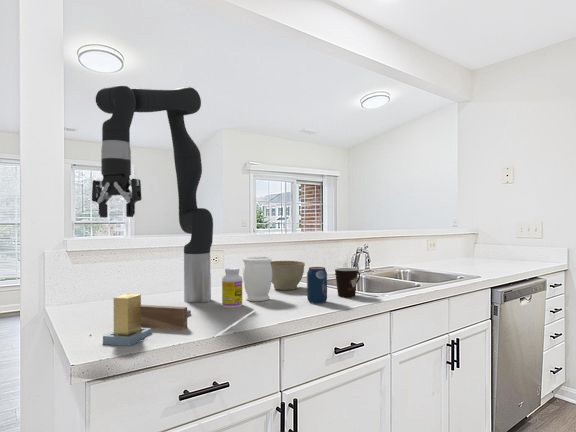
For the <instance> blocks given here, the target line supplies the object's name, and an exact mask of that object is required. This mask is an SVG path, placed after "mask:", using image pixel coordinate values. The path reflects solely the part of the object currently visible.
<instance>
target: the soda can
mask: <svg viewBox="0 0 576 432" xmlns="http://www.w3.org/2000/svg"><path fill="white" fill-rule="evenodd" d="M306 285H307V286H306V289H307V290H306V293H307V294H306V295H307V301H308V302H309V303H310V304H313V305H315V304H316V305H318V304H319V305H322V304H326V302H327V300H328V273H327V270H326V267H323V266H311V267H308V271H307V273H306Z"/></svg>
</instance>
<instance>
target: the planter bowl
mask: <svg viewBox="0 0 576 432" xmlns="http://www.w3.org/2000/svg"><path fill="white" fill-rule="evenodd" d="M270 264H271V267H272V281H271V284H272V285H273V288H274V289H275V290H279V291H280V290H282V291H291V290H296V289H297V288H298V285H299V283H300V282H301V280H302V279H303V276H304V272H305V265H306V263H305V262H304V261H300V260H299V261H297V260H272V261H271V262H270Z"/></svg>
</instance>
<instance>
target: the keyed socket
mask: <svg viewBox="0 0 576 432" xmlns="http://www.w3.org/2000/svg"><path fill="white" fill-rule="evenodd" d="M152 330H153V329H152V327H141V332H138V333H136V334H134V335H132V336H130V337H127V336H115V335H114V331H112V332H109V333H107V334H105V335H103V336H102V344H103V345H112V346H113V345H114V346H124V347H125V346H126V347H127V346H128V347H131V346H133V345H135V344H137V343H140V342H141V341H143V340H145V339H146V337H147V336H149V335H151V334H152Z"/></svg>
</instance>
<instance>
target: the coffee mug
mask: <svg viewBox="0 0 576 432" xmlns="http://www.w3.org/2000/svg"><path fill="white" fill-rule="evenodd" d="M334 271H335V280H336V281H335V283H336V289H337V296H338V297H340V298H343V299H344V298H350V299H351V298H355V297H356V292H357V284H358V283H359V280H361V272H360V271H359V269H358V268H355V267H340V268H339V267H337V268H334Z"/></svg>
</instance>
